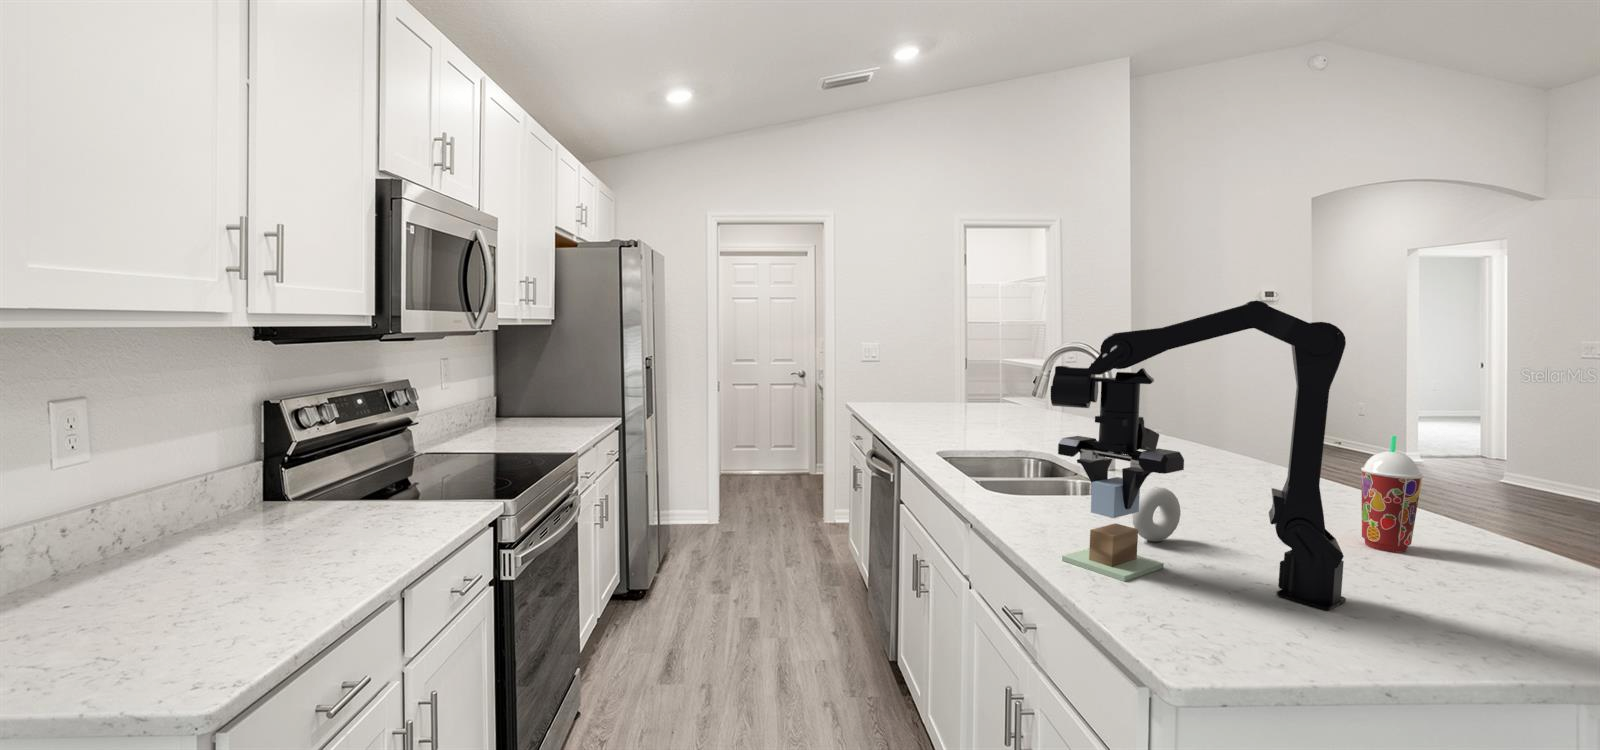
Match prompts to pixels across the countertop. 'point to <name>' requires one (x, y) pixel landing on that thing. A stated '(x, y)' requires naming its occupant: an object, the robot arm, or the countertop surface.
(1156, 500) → the donut
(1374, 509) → the smoothie
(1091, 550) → the walnut brick
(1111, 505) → the slate brick
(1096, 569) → the baseplate
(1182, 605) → the countertop surface
